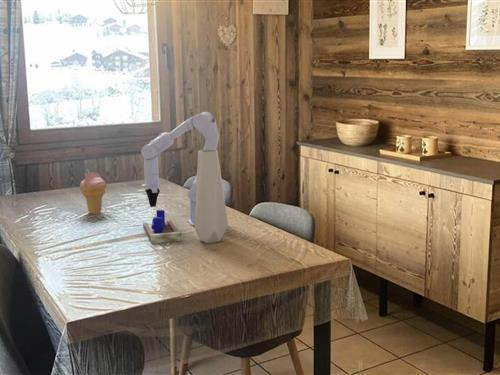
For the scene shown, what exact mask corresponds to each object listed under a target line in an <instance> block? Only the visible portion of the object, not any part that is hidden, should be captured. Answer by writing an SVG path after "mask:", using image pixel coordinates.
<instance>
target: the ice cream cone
mask: <svg viewBox="0 0 500 375" xmlns="http://www.w3.org/2000/svg"><path fill="white" fill-rule="evenodd" d="M85 170H86V172H87V173H84V174H83V175H84V176H85V178H83V180H82V181H81V182H80V184H79V189H80V190H81V195H82V196H83V198H85V200H86V205H87V206H86V207H87V211H88V213H89V214H90V215H99V214H101V212H102V204H103V203H102V202H103V197H104V194H105V193H106V188H107V183H106V181H105V180H104V179H103V178H102V177H101V174H99V173H98V172H96V171H94V172H90V171H89V169H88V167H87V166H86V165H85Z"/></svg>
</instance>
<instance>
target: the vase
mask: <svg viewBox="0 0 500 375" xmlns="http://www.w3.org/2000/svg"><path fill="white" fill-rule="evenodd" d="M196 169H197V171H196V175H197V190H196V213H195V225H194V230H195V232H196V234H197V237H198V238H199V241H201V242H203V243H206V244H211V243H219V242H221V241H222V238H223V237H224V234H225V232H226V231H227V229H228V227H229V221H228V213H227V207H226V200H225V193H224V186H223V185H224V184H223V180H222V174H221V173H222V172H221V171H222V170H221V165H220V159H219V151H218V149H217V148H216V149H204V150H203V149H200V150H198V152H197V168H196Z"/></svg>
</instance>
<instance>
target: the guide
mask: <svg viewBox="0 0 500 375" xmlns="http://www.w3.org/2000/svg"><path fill="white" fill-rule="evenodd" d="M166 225H167V227H168V228H169V230H170V232H162V233H154V232H153V231H152V228H150V226H149V224H148V222H142V228H143V230H144V232H145V234H146V236H147V238H148V239H149V241H150V244H162V243H171V242H172V243H174V242H180V241H182V240H183V239H182V238H183V236H182V232H181V231H179V230H178V228H177V227H176V226H175V224H174V223H173V221H172V220H170V219H169V220H166Z"/></svg>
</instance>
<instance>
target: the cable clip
mask: <svg viewBox="0 0 500 375" xmlns="http://www.w3.org/2000/svg"><path fill="white" fill-rule="evenodd" d="M165 213H166V212H165V209H163V210H162V209H161V210H160V209H159V210H156V217H155V216H154V217H152V224H151V230H153V234H161V233H164V228H165V227H166V215H165Z"/></svg>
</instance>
